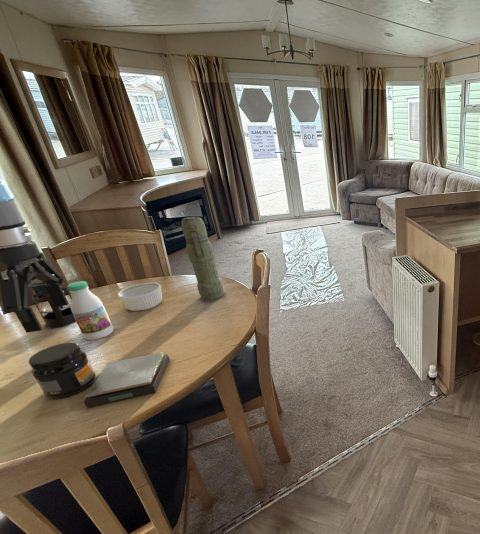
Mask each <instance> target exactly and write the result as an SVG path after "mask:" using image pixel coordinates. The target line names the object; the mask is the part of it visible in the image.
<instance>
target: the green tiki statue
mask: <svg viewBox="0 0 480 534" xmlns="http://www.w3.org/2000/svg"><path fill="white" fill-rule="evenodd" d="M181 229H182V233H183V236H184V239H185V240H186V241H185V244H186V246H185V249H186V253H187V257H188V261H189V262H190V263H191V264H192V268H193V272H194V275H195V279H196V282H197V284H196V288H197V291H198V294H199V295H200V300H202V301H207V302H208V301H215V300H218V299H220V298H223V296H225V292H224V291H225V290H224V286H223V282H222V280H221V279H220V276H219V272H218V269H217V265H216V260H215V256H216V255H215V252H214V247H213V244H212V243H211V241H210V239H209V237H208V231H207V228H206V224H205V222H204V220H203V219H202V218H201V216H198V215H191V216H186V217H183V218H182V219H181Z"/></svg>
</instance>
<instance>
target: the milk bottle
mask: <svg viewBox="0 0 480 534" xmlns="http://www.w3.org/2000/svg"><path fill="white" fill-rule="evenodd" d="M66 288H68V290H69V292H70V295H71V297H72V300H71V299H70V301H71V311H72V313H73V316H74V318H75V320H76V322H75V323H76V324H77V326H78V328H79V330H80V332H81V334H82V336H83V338H84V339H85V340H88V341H93V340H98V339H102V338H104V337H108V336H109V335H111V334H112V333H113V331H114V326H113V324H112V322H111V319H110V316H109V315H108V312H107V310H106V308H105V306H104V305H103V304H104V303H103V302H102V300H101V299H100V298H99V297H98V296H97V295H95V294H94V293H92V291H90V288H89V285H88V282H87V281H84V280H83V281H76V282H72V283H70V284H68V285H67V287H66Z"/></svg>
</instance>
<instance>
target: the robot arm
mask: <svg viewBox="0 0 480 534" xmlns="http://www.w3.org/2000/svg"><path fill="white" fill-rule="evenodd" d="M31 232H32V230H31V229H30V228H29V227H28V225H27V223H26V221H25V219H24V217H23V216H22V213H21V211H20V209H19V207H18V204H17V202H16V199H15V196H14V195H13V193H12V192H11V190H10V189H9V187H8V185H7V183H6V182H5V181H4V180H2V179H0V264H1V265H4V266H5V270H4V271H3V270H2V271H0V294H1V301H2V307H3V312H4V313H5V314H9V313H14V314H15V315H16V317H17V319H18V320H19V322H20V325H21V326H22V327H23V330H24V331H25V333H26V334H27V333H28V334H29V333H34V332H40V331H42V330H43V327H42V324H41V323H40V321H39V319H38V317H37V315H36V314H35V311H34V310H33V308H32V307H31V306H29V287H28V285H29V283H31V281H32V280H33V278H34V279H39V280H40V281H42V282H44V283H45V284H47V286H45V288H46V290H47V292H48V293H47V294H48V296H49V297H50V298H51V300H52V302H53V304H54V306H55V307H58V306H65V305H68V304H69V303H68V301H69V300H68V299H67V295H66V296H65V294H64V292H65V291H63V290H62V288H61V287H62V286H61V285H60V284H59V283H65V279H64V278H63V275H62V274H61V273H60V272H59V270H57V269H56V267H55V266H54V265H53V264H52V263H51V262H50V261H49V260H48V259H47V258H46V256H45V255H44V253H43V252H41V251H40V249H39V247H38V245H37V243H36V242H35V241H33V235H32V233H31ZM48 284H49V285H48ZM28 306H29V307H28Z"/></svg>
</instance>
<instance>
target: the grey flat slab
mask: <svg viewBox="0 0 480 534" xmlns="http://www.w3.org/2000/svg"><path fill="white" fill-rule="evenodd" d="M164 355H166V353H165V351H163V352H158V353H153V354H148V355H141V356H137V357H132V358H126V359H121V360H115V361H110V362H107V363H106V364H105V366H104V367H103V369H102V370H101V372H100V373H99V374H98V376H97V377H96V378H95V380H94V381H93V383H92V384H91V386H90V387H89V389H88V390H87V392H86V393H85V398H87V397H92V396H96V395H101V394H106V393H110V392H115V391H120V390H124V389H129V388H134V387H138V386H143V385H148V384H151V382H152V380H153V378H154V376H155V374H156V372H157V370H158V368H159V366H160V364H161V361H162V359H163V357H164Z"/></svg>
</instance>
